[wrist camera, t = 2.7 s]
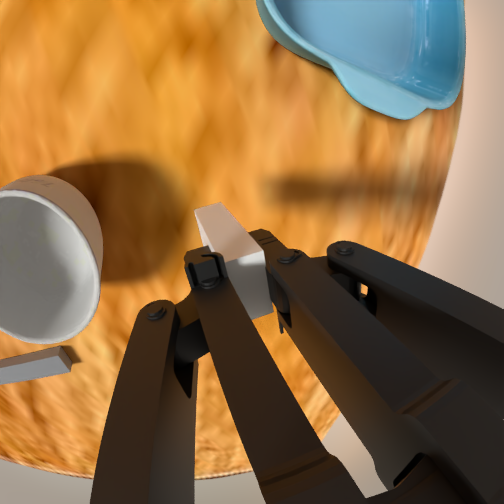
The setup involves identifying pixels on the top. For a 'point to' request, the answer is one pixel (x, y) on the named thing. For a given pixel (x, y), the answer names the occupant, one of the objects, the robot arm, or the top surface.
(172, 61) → the top surface
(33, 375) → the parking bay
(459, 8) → the casserole dish
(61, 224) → the teacup
